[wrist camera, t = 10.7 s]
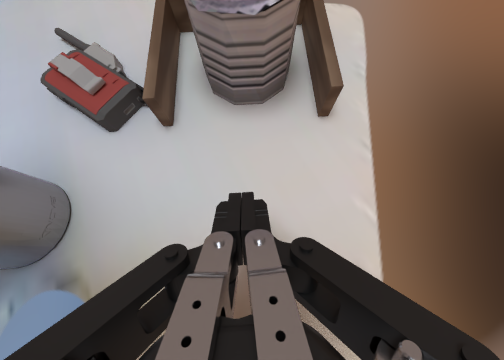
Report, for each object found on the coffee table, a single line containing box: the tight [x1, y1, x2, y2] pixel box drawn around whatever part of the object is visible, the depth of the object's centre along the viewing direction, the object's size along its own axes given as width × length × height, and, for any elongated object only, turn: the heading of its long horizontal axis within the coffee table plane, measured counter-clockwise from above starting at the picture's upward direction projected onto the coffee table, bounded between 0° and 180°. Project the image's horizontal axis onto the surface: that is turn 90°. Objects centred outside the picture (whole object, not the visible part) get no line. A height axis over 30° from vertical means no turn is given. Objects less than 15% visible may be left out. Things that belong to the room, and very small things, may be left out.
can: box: [184, 0, 300, 105], centre depth 23 cm, size 11×11×12 cm
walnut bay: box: [142, 0, 344, 126], centre depth 26 cm, size 21×17×5 cm
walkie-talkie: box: [41, 28, 146, 132], centre depth 27 cm, size 9×4×20 cm
